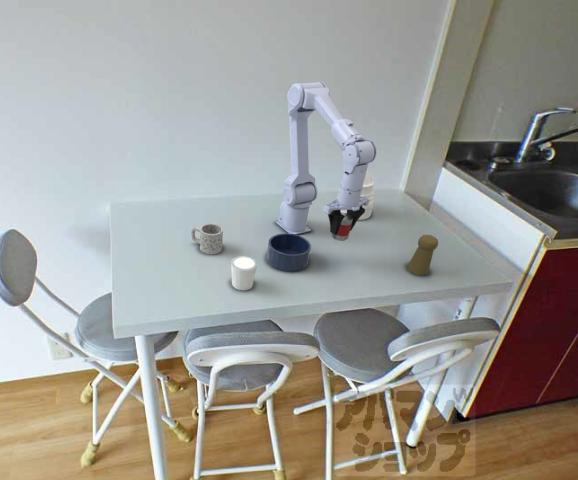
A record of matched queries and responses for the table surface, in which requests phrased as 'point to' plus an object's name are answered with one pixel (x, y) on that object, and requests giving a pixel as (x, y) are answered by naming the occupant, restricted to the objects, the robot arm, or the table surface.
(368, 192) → the honey pot
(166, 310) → the table surface
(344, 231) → the can
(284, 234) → the dark blue round bowl
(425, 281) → the table surface
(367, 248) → the table surface
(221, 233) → the mug
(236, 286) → the white tapered cylinder
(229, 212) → the table surface
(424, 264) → the cork
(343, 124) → the robot arm
